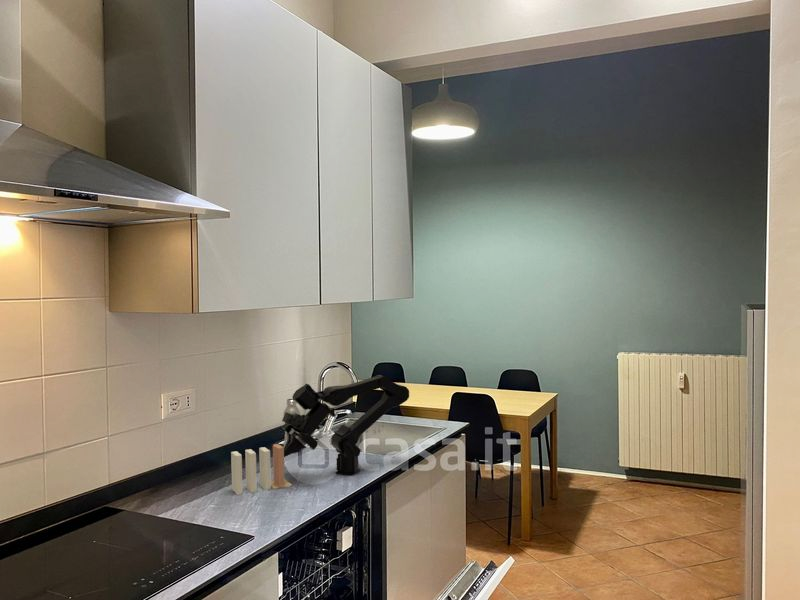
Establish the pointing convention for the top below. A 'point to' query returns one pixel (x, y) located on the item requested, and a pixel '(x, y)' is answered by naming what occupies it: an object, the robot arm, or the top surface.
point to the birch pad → (280, 486)
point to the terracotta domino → (278, 464)
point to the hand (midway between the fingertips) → (282, 456)
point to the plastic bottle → (290, 409)
